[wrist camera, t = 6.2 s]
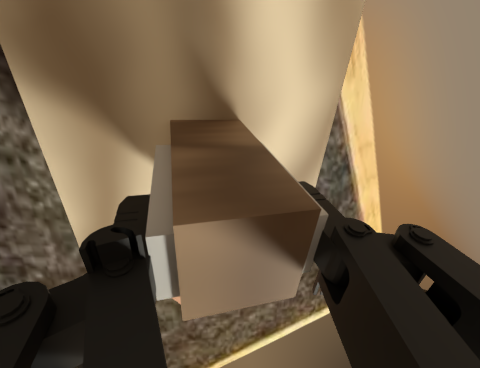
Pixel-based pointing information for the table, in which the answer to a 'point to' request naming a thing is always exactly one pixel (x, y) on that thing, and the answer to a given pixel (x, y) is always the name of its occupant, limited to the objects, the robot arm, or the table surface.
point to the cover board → (171, 76)
